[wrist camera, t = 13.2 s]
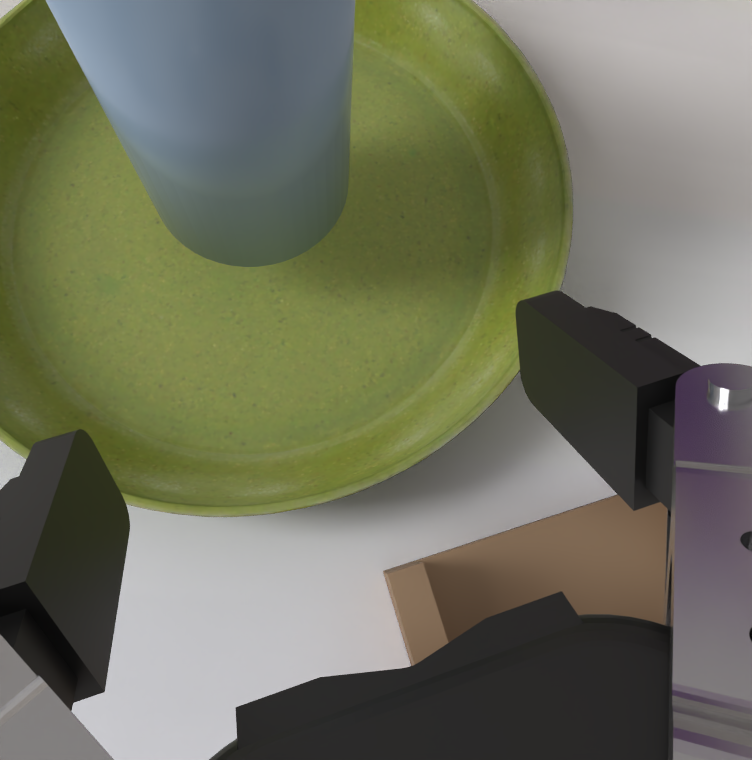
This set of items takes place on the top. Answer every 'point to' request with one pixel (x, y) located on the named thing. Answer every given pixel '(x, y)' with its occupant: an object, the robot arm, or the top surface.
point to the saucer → (279, 276)
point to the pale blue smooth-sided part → (227, 114)
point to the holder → (536, 572)
